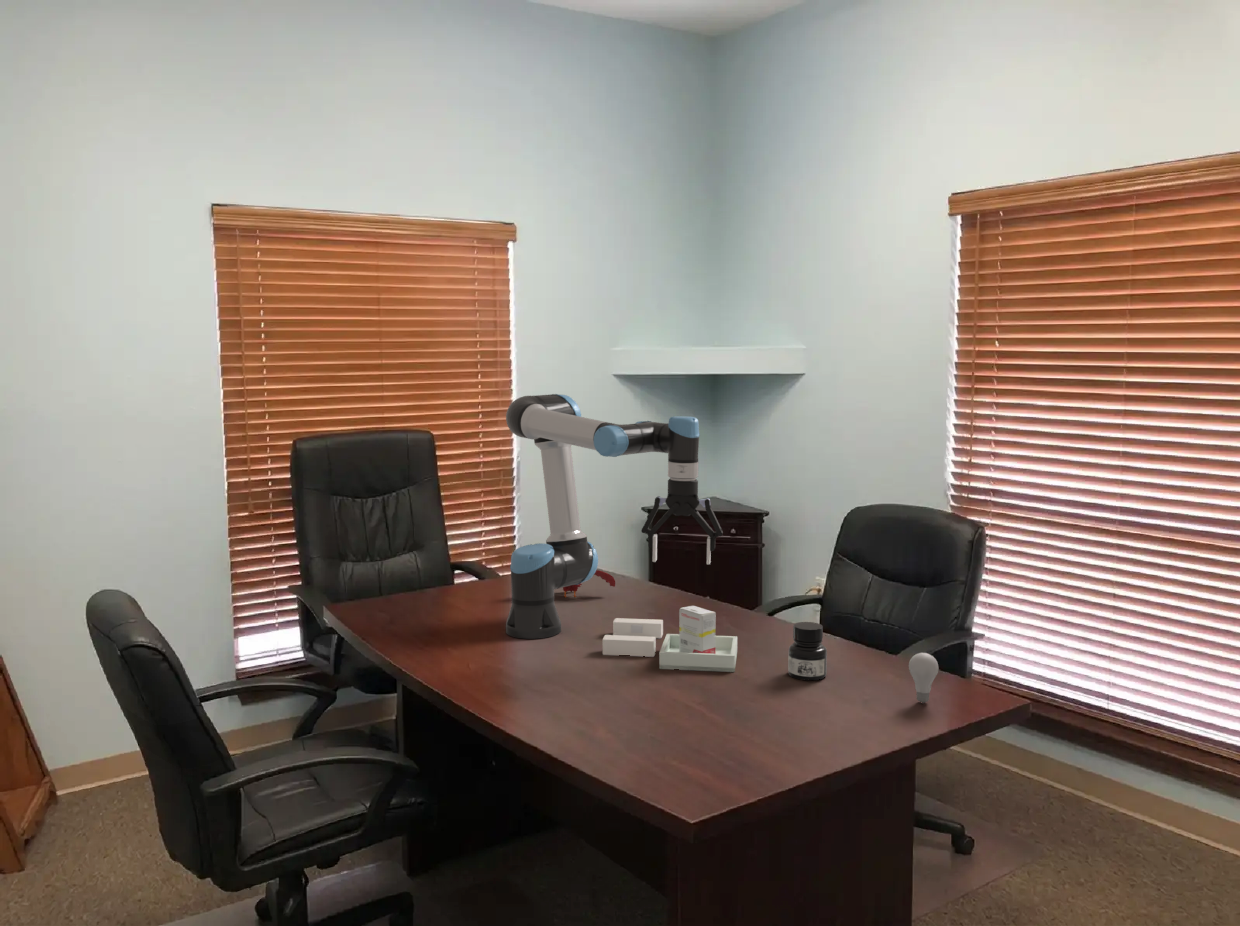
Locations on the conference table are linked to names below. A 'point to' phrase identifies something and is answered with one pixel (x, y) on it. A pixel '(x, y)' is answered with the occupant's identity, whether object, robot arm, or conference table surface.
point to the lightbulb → (923, 674)
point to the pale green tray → (699, 655)
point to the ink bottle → (807, 652)
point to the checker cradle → (633, 637)
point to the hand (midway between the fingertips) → (681, 562)
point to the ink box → (697, 630)
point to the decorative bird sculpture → (603, 575)
